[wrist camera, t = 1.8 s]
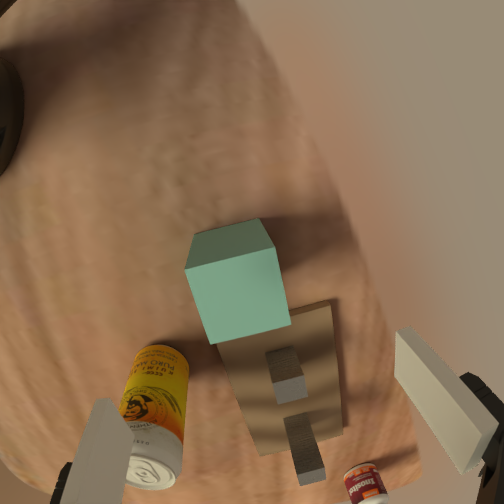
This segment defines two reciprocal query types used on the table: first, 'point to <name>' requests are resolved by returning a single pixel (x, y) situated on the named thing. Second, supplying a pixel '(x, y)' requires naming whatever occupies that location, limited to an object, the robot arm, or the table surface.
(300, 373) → the short post
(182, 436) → the beer can
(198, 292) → the mint green toy brick
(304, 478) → the tall post
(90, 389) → the table surface
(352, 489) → the pill bottle
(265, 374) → the board
